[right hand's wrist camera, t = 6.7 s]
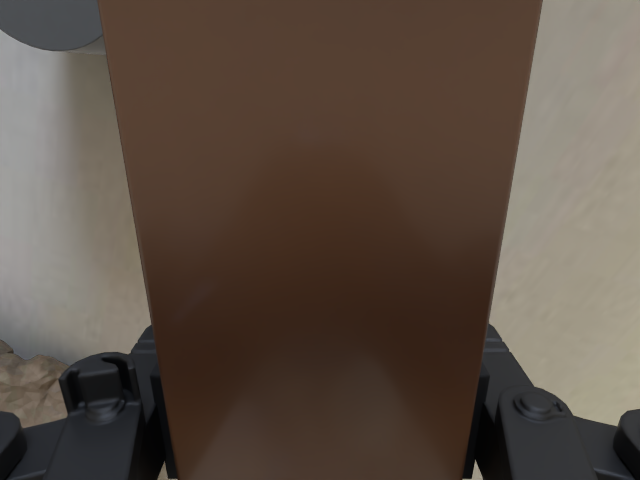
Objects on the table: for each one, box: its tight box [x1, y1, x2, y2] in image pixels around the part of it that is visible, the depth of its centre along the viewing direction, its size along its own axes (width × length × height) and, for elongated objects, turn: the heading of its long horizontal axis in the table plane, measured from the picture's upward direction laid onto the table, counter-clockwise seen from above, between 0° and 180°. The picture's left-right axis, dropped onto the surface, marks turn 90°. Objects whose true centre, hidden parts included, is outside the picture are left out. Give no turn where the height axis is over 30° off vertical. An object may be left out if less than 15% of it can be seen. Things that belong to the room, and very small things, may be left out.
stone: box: [0, 340, 70, 428], centre depth 32 cm, size 21×15×6 cm
